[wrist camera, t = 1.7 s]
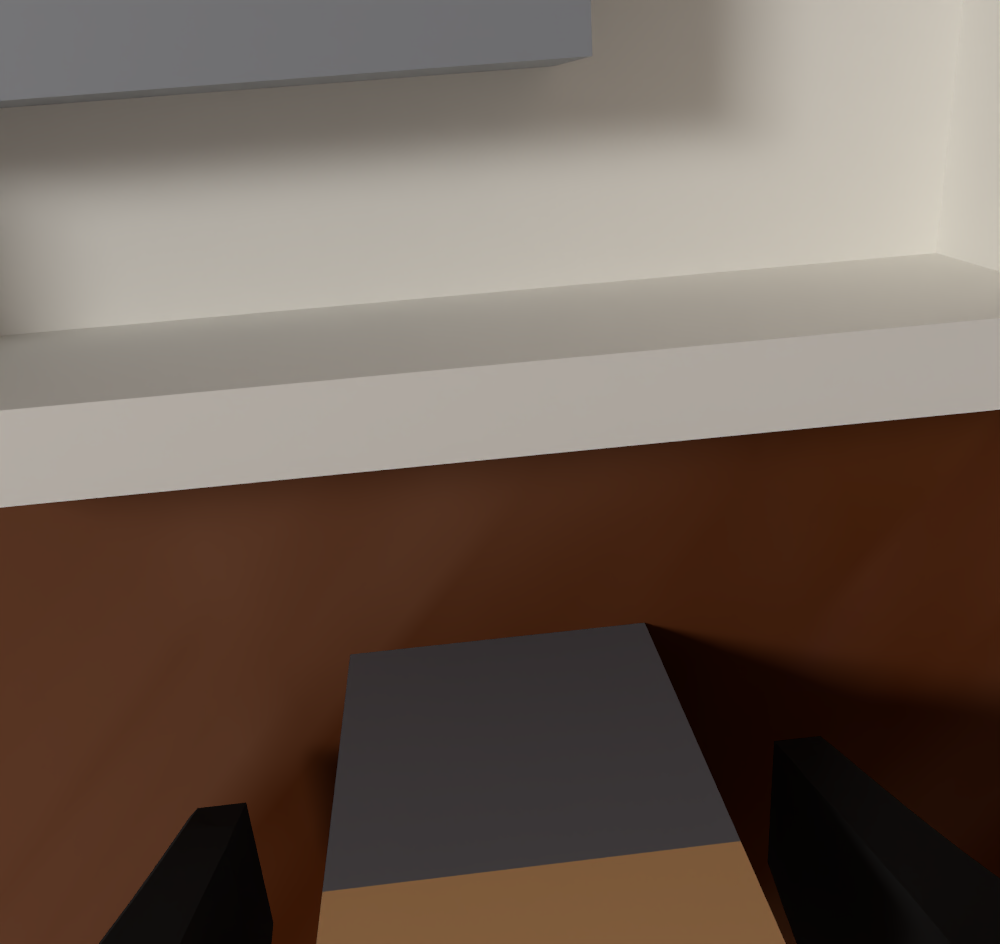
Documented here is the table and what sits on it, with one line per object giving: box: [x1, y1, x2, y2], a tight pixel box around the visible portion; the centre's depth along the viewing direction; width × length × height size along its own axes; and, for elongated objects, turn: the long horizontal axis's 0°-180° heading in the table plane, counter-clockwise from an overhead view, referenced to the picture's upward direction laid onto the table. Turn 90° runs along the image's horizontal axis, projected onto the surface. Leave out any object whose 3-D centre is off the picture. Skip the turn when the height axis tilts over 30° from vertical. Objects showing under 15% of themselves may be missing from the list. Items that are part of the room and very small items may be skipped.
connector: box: [316, 623, 786, 944], centre depth 10 cm, size 4×4×6 cm
